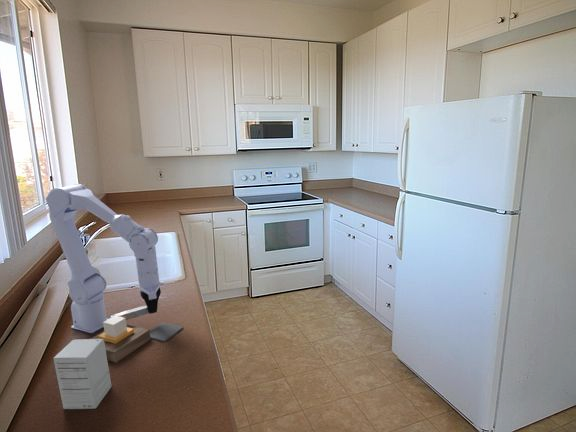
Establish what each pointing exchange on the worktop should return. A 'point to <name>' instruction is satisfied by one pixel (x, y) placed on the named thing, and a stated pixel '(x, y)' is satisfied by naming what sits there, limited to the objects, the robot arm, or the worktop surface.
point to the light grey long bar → (132, 313)
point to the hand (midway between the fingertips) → (153, 312)
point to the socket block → (125, 344)
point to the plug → (115, 330)
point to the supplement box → (82, 373)
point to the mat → (164, 331)
